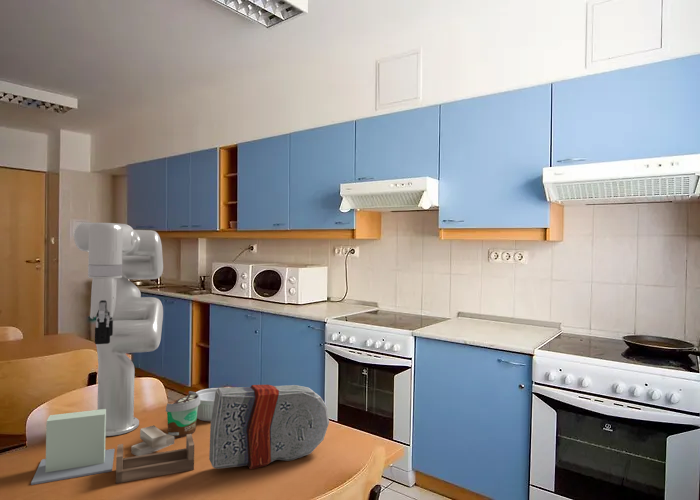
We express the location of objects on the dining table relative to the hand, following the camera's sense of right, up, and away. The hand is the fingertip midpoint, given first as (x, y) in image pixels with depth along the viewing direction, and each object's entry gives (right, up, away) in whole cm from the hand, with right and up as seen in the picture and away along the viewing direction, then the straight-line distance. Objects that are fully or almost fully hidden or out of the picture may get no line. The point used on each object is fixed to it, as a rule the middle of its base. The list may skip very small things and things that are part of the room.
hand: (104, 339), depth 113 cm
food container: (+15, -31, +17) cm, 38 cm away
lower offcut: (+10, -31, +6) cm, 33 cm away
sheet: (-5, -30, -4) cm, 30 cm away
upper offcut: (+9, -28, +7) cm, 31 cm away
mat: (-5, -30, -4) cm, 31 cm away
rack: (+15, -30, -5) cm, 34 cm away
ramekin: (+18, -31, +31) cm, 47 cm away
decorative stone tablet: (+42, -31, +1) cm, 52 cm away
